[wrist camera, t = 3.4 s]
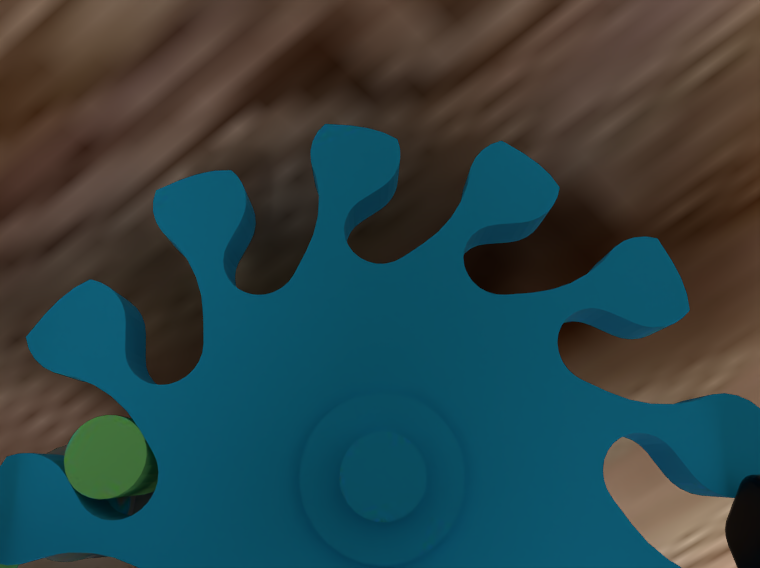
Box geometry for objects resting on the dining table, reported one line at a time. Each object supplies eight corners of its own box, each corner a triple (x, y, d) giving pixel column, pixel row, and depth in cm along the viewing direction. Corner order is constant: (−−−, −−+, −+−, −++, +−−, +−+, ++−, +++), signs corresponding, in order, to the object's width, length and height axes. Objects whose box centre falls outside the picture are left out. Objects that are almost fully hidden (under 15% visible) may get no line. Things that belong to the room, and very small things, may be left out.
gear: (705, 77, 9) (934, 962, 6) (576, 229, 15) (666, 731, 12) (-97, 127, 9) (-233, 1103, 6) (87, 264, 14) (62, 794, 12)
